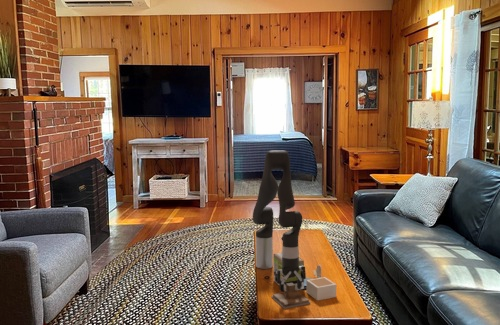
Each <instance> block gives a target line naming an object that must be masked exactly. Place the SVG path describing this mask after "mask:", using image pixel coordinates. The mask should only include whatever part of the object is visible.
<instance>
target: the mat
mask: <svg viewBox="0 0 500 325" xmlns="http://www.w3.org/2000/svg"><path fill="white" fill-rule="evenodd" d="M271 299H273V300H274V301H275V302H276V303H277V304H278V305H279V306H280V307H281V308H282V309H285V310H286V309H291V308H296V307H300V306H306V305H311V302H310V301H309V302H307V303H302V304H297V305H292V306H287V307H284V306H283V305H282V304H281V303H280V302H279V301H278V300H276V299H275V298H274V297H273V295H271Z"/></svg>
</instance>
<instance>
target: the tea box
mask: <svg viewBox="0 0 500 325" xmlns="http://www.w3.org/2000/svg"><path fill="white" fill-rule="evenodd" d="M301 265H303V266H304V267H305V260H304V259H302V258H301V257H299V266H301ZM276 269H278V270H280V269H282V252H278V253H277V252H276V253H273V282H275V272H276ZM282 274H283V273H281V274H280V278H281V275H282ZM298 274H299V275H300V276H301V271H300V269H299V271H298ZM284 277H285V276H284ZM297 280H298V279H297V278H296V276H295V277H291V278H287V280H286V281H285V282H284V283H283V284H284V292H286V284H287V283H293V284H294V285H295V290H297V291H300V290H301V291H302V290H304V289H305V279H303V280H302V287H301V289H298V288H297ZM275 283H276V284H277V285H278V286H279V284H278V283H277V282H275Z"/></svg>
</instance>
